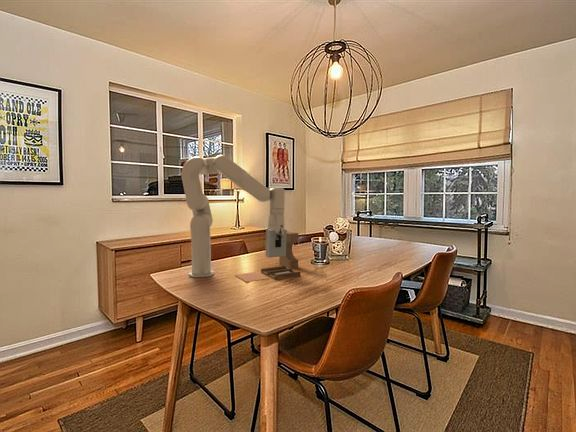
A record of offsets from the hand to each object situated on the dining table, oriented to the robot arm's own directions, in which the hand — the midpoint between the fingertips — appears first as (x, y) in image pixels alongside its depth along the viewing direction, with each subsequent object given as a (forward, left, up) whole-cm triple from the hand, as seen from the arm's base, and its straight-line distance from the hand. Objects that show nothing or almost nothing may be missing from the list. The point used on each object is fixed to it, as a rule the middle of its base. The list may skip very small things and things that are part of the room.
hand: (276, 246), depth 167 cm
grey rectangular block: (0, 0, -5) cm, 5 cm away
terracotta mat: (+1, -15, -15) cm, 21 cm away
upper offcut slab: (+8, 0, -14) cm, 16 cm away
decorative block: (-9, +13, -15) cm, 22 cm away
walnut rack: (+4, 0, -15) cm, 15 cm away
